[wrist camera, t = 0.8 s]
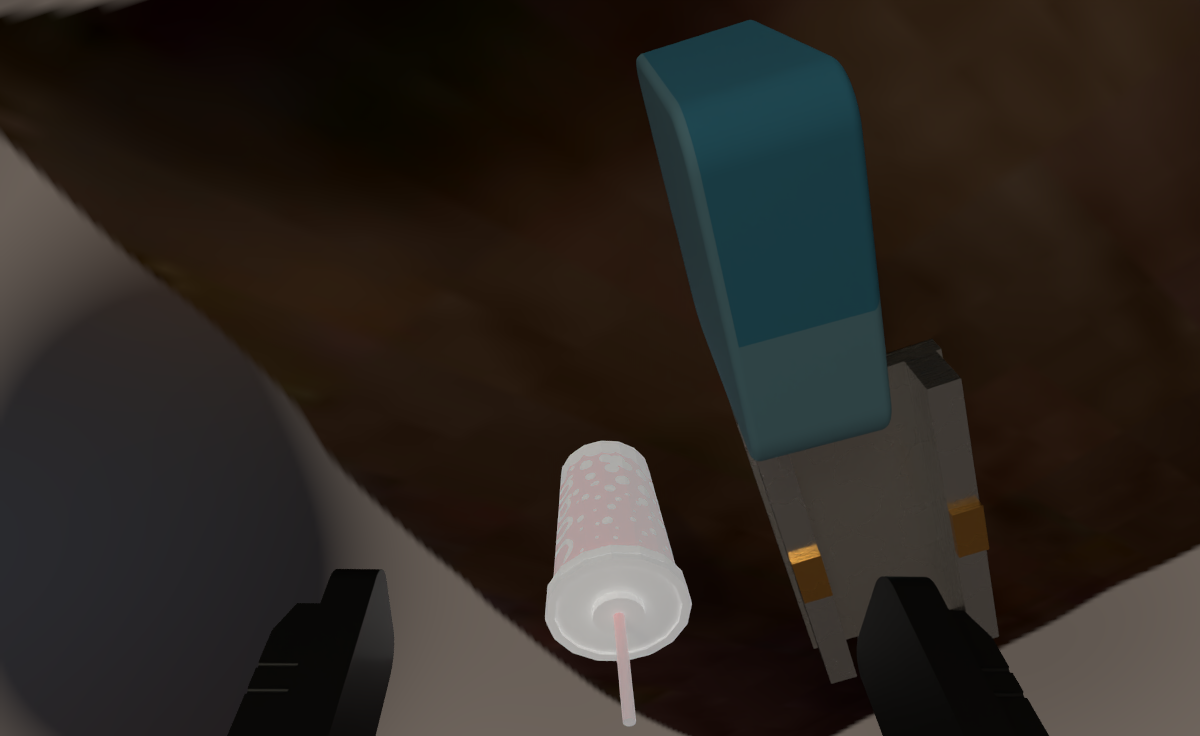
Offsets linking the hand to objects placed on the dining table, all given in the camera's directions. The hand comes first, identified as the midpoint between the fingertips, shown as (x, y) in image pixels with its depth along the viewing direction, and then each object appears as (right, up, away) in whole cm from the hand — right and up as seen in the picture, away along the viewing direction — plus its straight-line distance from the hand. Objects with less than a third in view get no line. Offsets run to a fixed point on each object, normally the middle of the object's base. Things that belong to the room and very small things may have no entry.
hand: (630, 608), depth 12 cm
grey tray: (+14, -3, +29) cm, 32 cm away
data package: (+5, +12, +19) cm, 23 cm away
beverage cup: (0, -2, +27) cm, 27 cm away
